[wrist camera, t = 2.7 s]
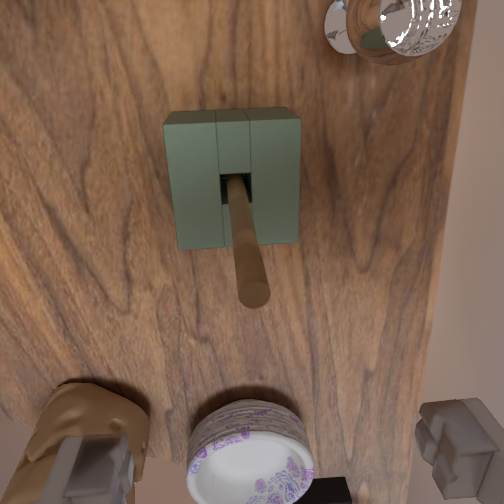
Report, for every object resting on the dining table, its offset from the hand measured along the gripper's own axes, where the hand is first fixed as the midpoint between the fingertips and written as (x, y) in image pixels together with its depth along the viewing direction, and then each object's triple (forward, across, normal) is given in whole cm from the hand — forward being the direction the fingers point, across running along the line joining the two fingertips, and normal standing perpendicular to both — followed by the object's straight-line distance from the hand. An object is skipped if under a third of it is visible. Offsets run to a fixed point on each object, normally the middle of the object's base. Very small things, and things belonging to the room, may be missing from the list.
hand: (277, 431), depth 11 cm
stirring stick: (+29, 0, 0) cm, 29 cm away
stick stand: (+29, 0, 0) cm, 29 cm away
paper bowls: (+29, 0, +35) cm, 45 cm away
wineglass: (+29, -10, -11) cm, 33 cm away
